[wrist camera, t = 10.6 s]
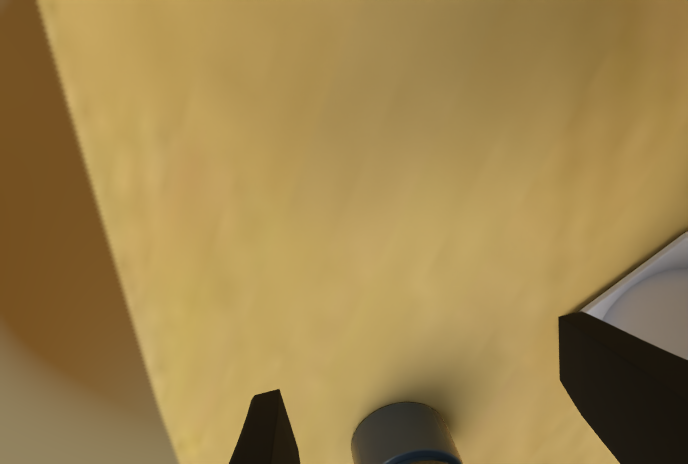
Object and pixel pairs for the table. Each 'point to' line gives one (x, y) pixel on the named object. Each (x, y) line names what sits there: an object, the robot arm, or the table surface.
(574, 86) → the table surface
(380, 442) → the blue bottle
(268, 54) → the table surface
